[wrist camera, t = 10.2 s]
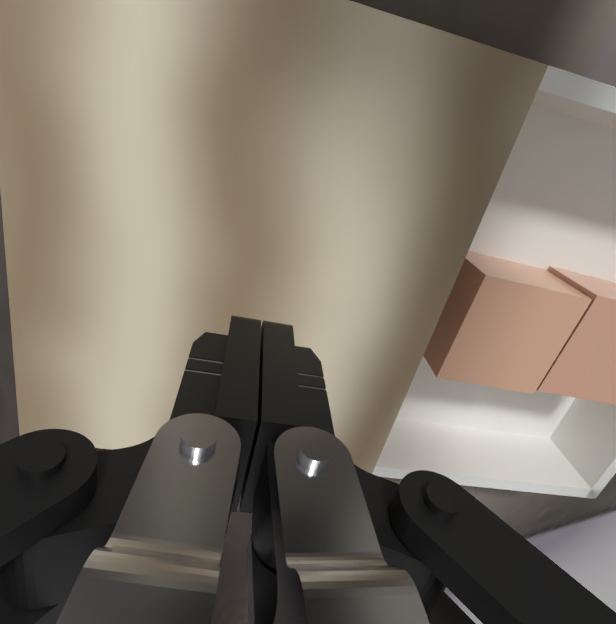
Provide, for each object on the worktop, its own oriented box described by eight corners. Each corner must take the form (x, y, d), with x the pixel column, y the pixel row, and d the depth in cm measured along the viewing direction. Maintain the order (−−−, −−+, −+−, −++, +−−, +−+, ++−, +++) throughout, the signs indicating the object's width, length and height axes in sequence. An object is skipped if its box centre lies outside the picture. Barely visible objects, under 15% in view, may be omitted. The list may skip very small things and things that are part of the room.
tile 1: (545, 269, 18) (592, 299, 16) (498, 354, 20) (533, 394, 18) (452, 246, 17) (485, 274, 15) (413, 338, 19) (436, 377, 17)
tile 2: (597, 295, 16) (549, 265, 18) (537, 390, 18) (501, 351, 20) (692, 318, 17) (633, 286, 19) (625, 406, 18) (580, 366, 21)
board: (481, 70, 15) (548, 64, 12) (354, 414, 22) (371, 475, 18) (57, -62, 12) (-24, -122, 9) (64, 376, 19) (19, 440, 16)
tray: (736, 150, 17) (856, 165, 14) (547, 439, 24) (595, 498, 21) (481, 70, 15) (548, 64, 12) (354, 414, 22) (371, 475, 18)
